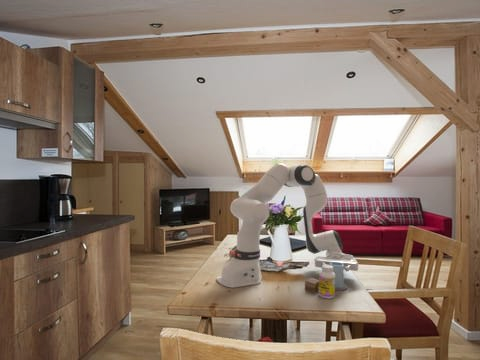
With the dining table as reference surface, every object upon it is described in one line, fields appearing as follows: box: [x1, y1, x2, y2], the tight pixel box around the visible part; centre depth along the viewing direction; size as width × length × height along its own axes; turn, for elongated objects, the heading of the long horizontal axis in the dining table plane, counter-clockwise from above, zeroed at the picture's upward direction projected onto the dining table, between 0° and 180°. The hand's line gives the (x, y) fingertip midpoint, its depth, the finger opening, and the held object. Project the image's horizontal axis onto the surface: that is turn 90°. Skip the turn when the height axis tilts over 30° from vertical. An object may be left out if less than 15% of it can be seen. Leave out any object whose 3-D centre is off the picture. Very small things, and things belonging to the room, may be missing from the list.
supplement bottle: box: [318, 265, 336, 300], centre depth 129 cm, size 7×7×13 cm
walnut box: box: [304, 277, 319, 293], centre depth 136 cm, size 5×5×4 cm
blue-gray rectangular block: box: [330, 261, 345, 288], centre depth 140 cm, size 6×6×10 cm
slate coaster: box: [335, 282, 349, 292], centre depth 140 cm, size 10×10×1 cm
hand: (336, 268), depth 142 cm, fingers open, 8 cm apart
